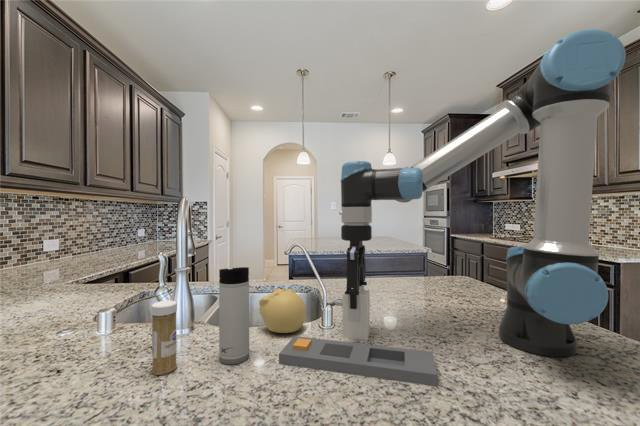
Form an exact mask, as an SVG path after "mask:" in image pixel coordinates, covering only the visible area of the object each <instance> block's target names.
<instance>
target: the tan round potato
mask: <svg viewBox="0 0 640 426" xmlns="http://www.w3.org/2000/svg"><path fill="white" fill-rule="evenodd" d="M258 305H259V310H258V311H259V315H260V317H261V319H262V321H263V323H264V325H265V327H266V329H267V330H269V331H270V332H273V333H279V334H289V333H295V332H297V331H298V330H301V328H302V326H303V325H304V324H305V321H306V316H307V309H306V304H305V302H304V300H303V298H302V297H301V296H300V295H299V294H298V293H297V291H295V290H293V289H292V288H291V289H283V288H276V289H274V290H273V291H272V292H271V293H270V294H267V295H266V296H263V297H261V298H260V299H259V301H258Z"/></svg>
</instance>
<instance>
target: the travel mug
mask: <svg viewBox="0 0 640 426" xmlns="http://www.w3.org/2000/svg"><path fill="white" fill-rule="evenodd" d="M249 271H250V267H249V266H247V267H244V266H243V267H232V268H230V269H229V268H222V269H219V275H218V276H219V277H218V278H219V280H218V284H219V286H218V302H219V303H218V308H219V309H218V332H219V333H218V334H219V335H218V336H219V337H218V344H219V346H218V347H219V349H218V352H219V354H218V355H219V356H218V357H219V358H218V359H219V361H220V362H221V363H222V364H223V365H237V364H241V363H243V362H245V361H246V360H248V359H249V357H250V277H249V276H250V275H249V274H250V272H249Z"/></svg>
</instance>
